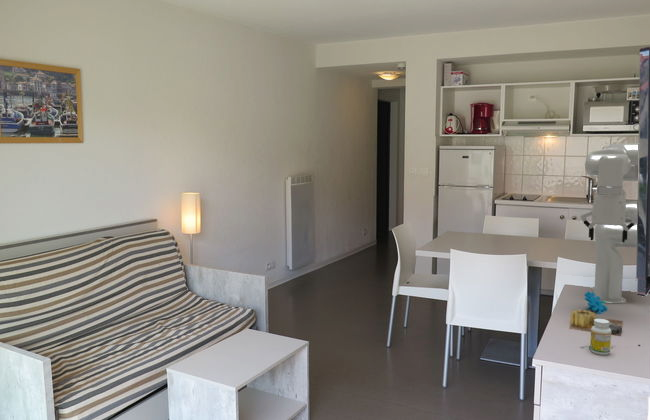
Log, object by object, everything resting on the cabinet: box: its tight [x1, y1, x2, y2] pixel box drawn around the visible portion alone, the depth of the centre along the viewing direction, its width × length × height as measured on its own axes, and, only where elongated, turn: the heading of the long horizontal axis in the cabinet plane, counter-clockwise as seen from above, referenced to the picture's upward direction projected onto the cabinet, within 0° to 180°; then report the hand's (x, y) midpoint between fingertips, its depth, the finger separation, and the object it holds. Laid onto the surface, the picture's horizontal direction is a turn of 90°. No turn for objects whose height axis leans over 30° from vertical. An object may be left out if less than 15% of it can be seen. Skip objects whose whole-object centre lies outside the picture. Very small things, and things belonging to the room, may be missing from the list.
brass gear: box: [570, 309, 596, 328], centre depth 179 cm, size 7×7×4 cm
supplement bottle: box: [589, 319, 612, 356], centre depth 158 cm, size 5×5×10 cm
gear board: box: [568, 314, 624, 337], centre depth 179 cm, size 17×15×5 cm
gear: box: [584, 291, 608, 315], centre depth 195 cm, size 11×6×10 cm
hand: (607, 240), depth 184 cm, fingers open, 9 cm apart
